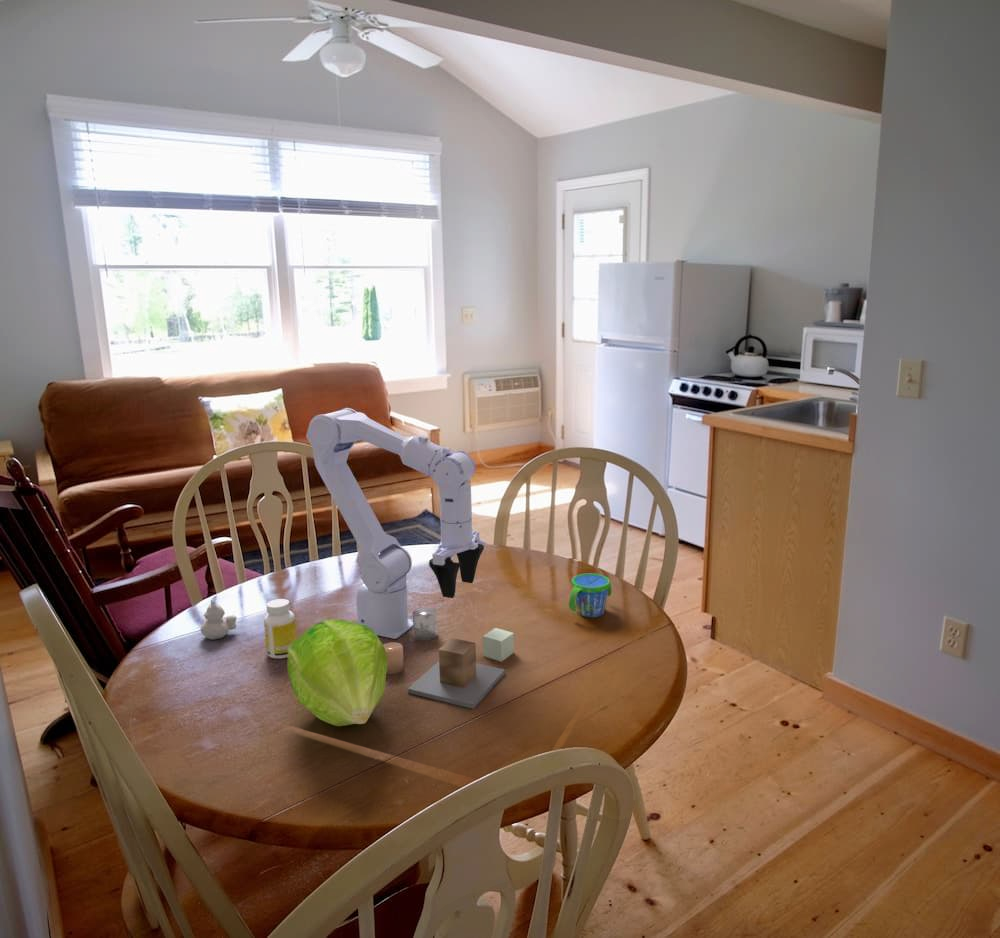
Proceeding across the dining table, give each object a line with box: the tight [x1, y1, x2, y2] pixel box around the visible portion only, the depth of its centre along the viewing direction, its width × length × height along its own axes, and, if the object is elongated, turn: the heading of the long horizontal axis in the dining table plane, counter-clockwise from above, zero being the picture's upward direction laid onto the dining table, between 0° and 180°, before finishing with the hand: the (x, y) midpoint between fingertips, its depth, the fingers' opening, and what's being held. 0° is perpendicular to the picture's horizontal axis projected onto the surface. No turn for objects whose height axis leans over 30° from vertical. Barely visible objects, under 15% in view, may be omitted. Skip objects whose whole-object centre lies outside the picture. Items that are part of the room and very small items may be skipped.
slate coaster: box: [407, 660, 506, 710], centre depth 120 cm, size 12×12×1 cm
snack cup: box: [568, 572, 613, 618], centre depth 146 cm, size 11×8×7 cm
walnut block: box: [438, 637, 477, 688], centre depth 120 cm, size 4×4×6 cm
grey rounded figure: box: [200, 599, 238, 641], centre depth 138 cm, size 5×7×8 cm
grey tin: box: [412, 607, 438, 642], centre depth 137 cm, size 4×4×5 cm
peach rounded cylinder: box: [382, 641, 405, 675], centre depth 125 cm, size 4×4×4 cm
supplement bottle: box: [263, 598, 298, 660], centre depth 131 cm, size 5×5×10 cm
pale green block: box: [482, 627, 515, 663], centre depth 130 cm, size 4×4×4 cm
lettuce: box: [286, 618, 388, 727], centre depth 107 cm, size 15×22×15 cm, turn 20°
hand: (458, 589), depth 133 cm, fingers open, 7 cm apart
